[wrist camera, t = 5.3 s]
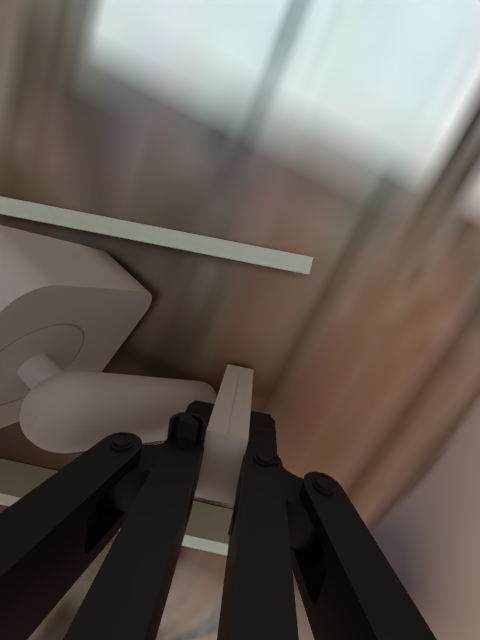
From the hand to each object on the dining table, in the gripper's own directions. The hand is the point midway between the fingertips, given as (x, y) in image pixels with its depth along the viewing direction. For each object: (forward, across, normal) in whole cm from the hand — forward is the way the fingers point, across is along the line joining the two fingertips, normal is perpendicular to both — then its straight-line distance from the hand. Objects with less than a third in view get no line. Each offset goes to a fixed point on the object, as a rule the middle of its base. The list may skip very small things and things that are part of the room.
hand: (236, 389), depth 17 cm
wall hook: (+2, -6, 0) cm, 6 cm away
